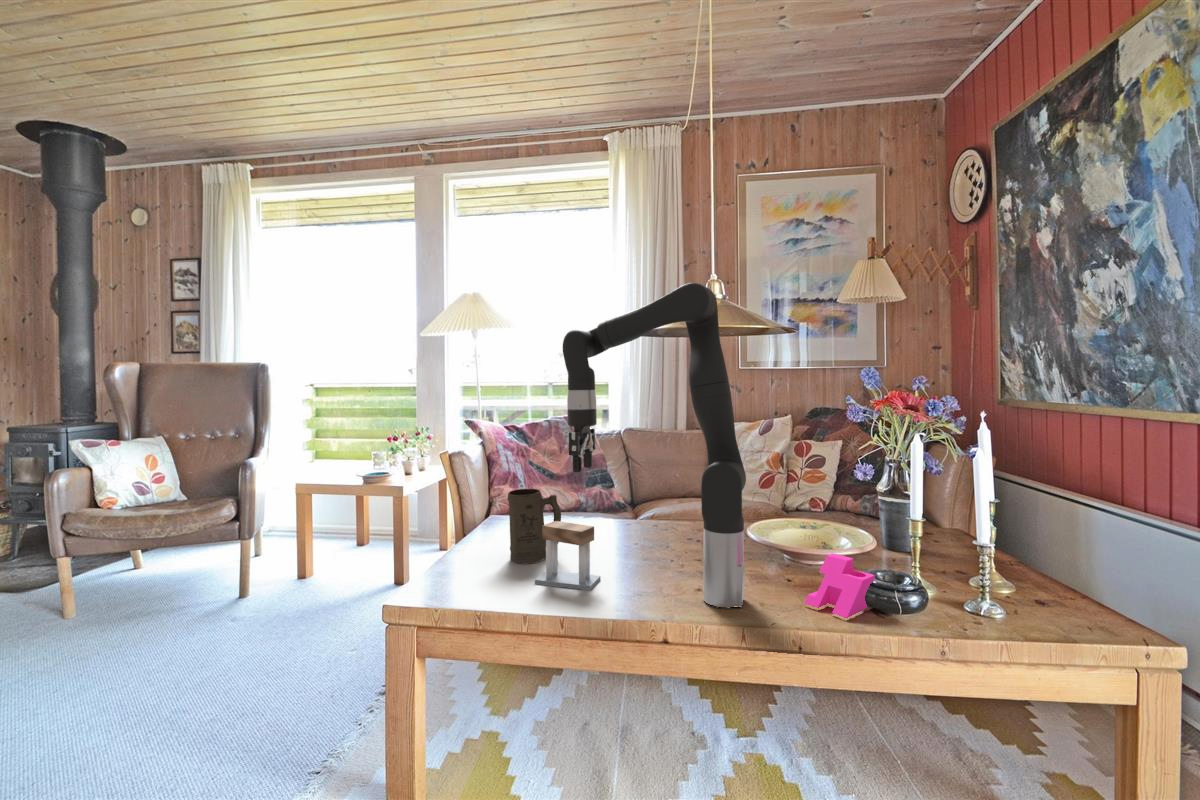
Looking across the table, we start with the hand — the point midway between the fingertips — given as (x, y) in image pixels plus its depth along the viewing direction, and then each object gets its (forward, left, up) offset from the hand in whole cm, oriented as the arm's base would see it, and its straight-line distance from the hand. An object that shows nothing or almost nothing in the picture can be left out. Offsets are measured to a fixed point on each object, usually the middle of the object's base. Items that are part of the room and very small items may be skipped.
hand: (582, 469), depth 149 cm
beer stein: (+19, -12, -29) cm, 37 cm away
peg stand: (+3, +3, -29) cm, 29 cm away
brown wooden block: (+3, +3, -18) cm, 18 cm away
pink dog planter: (-62, -1, -29) cm, 69 cm away
